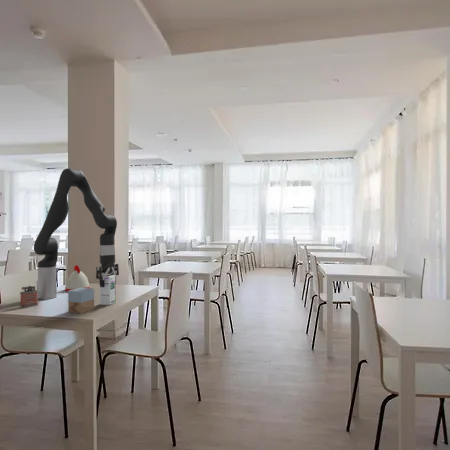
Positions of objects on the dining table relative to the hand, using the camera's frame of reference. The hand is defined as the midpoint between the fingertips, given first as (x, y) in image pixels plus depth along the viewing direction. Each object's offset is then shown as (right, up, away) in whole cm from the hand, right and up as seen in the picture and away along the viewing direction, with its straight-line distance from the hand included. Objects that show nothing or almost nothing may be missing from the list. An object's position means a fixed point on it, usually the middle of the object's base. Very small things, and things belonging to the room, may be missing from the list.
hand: (108, 285), depth 186 cm
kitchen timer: (-32, -9, +41) cm, 53 cm away
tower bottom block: (-8, -10, -14) cm, 19 cm away
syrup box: (0, -10, 0) cm, 10 cm away
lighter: (-38, -10, -3) cm, 40 cm away
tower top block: (-8, -5, -14) cm, 17 cm away
